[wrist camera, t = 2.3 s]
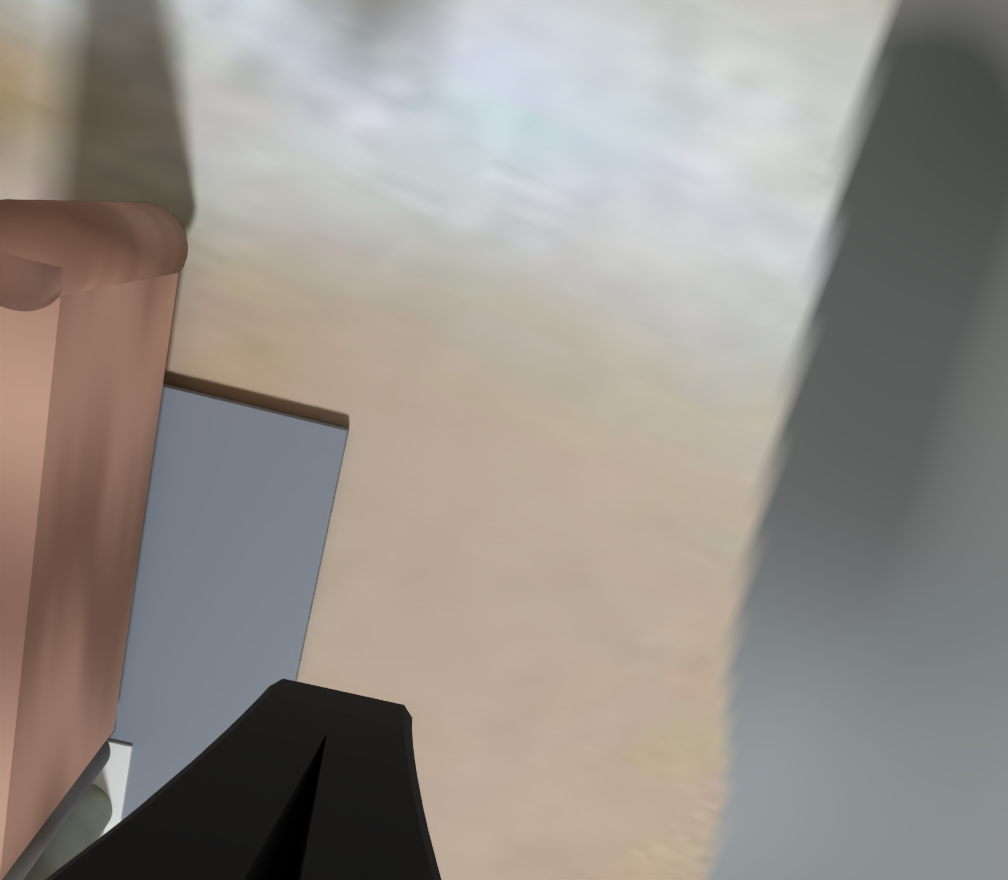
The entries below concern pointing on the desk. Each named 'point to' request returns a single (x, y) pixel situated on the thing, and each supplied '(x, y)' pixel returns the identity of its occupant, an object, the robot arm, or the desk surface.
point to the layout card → (217, 579)
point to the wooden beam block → (72, 486)
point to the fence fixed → (75, 833)
